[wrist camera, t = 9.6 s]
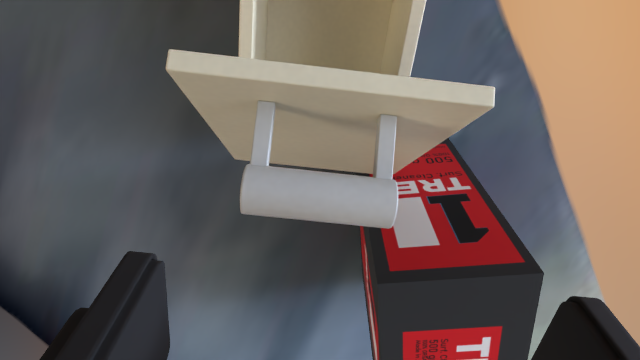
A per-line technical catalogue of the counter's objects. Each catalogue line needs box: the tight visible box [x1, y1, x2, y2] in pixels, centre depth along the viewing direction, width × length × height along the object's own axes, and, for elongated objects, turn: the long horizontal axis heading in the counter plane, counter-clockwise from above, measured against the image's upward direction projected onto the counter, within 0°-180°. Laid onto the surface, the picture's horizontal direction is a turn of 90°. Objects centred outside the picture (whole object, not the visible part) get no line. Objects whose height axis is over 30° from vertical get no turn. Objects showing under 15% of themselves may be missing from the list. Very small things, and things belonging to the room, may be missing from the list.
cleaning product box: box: [356, 138, 544, 360], centre depth 35 cm, size 16×9×20 cm, turn 5°
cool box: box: [239, 0, 426, 77], centre depth 32 cm, size 16×12×9 cm
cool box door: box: [166, 49, 495, 229], centre depth 23 cm, size 17×12×5 cm
